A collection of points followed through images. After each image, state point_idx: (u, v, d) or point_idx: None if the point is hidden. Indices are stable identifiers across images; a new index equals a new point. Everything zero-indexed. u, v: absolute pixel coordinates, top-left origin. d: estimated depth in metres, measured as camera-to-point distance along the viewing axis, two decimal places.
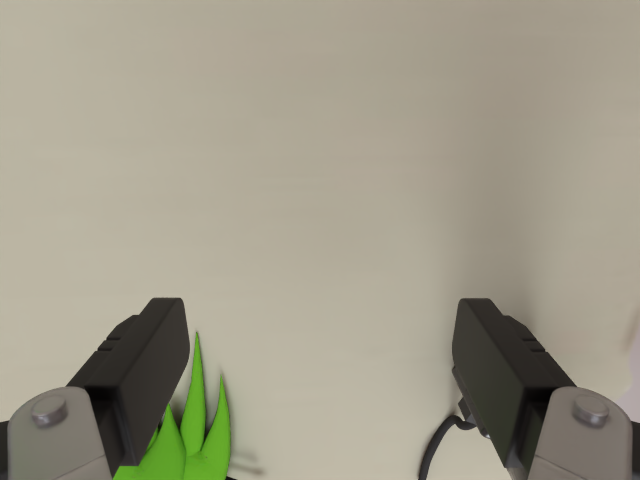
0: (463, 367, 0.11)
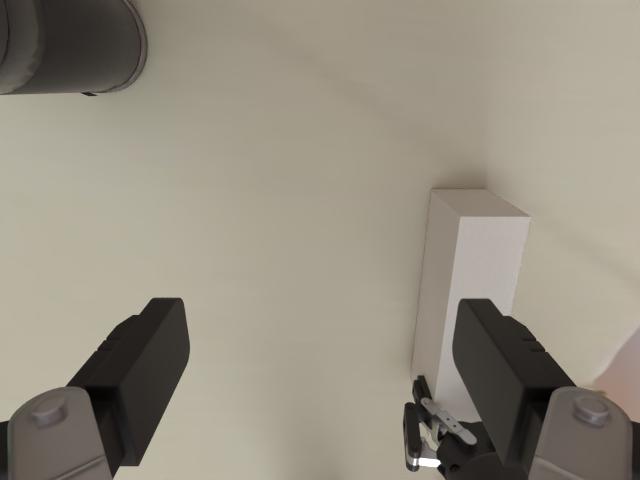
0: (463, 367, 0.11)
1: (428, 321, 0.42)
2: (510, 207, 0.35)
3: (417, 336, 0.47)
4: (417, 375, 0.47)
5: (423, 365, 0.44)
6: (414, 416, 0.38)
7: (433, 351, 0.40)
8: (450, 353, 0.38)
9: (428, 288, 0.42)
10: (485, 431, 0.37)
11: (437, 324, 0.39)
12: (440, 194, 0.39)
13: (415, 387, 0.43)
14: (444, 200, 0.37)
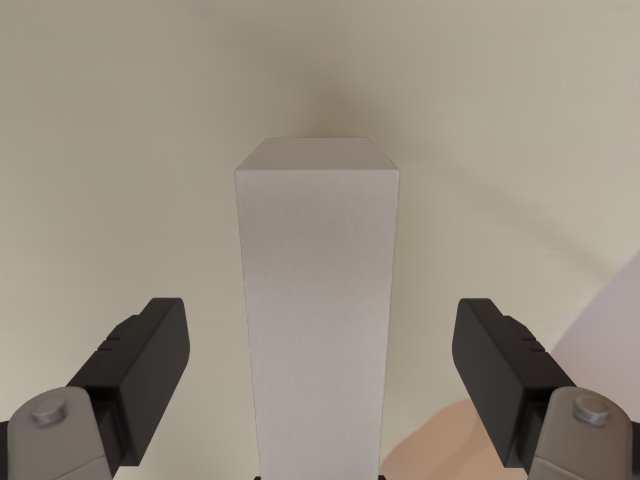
0: (463, 367, 0.11)
1: None
2: (374, 157, 0.16)
3: None
4: None
5: None
6: None
7: None
8: (277, 453, 0.19)
9: None
10: None
11: None
12: (269, 142, 0.21)
13: None
14: (257, 149, 0.19)
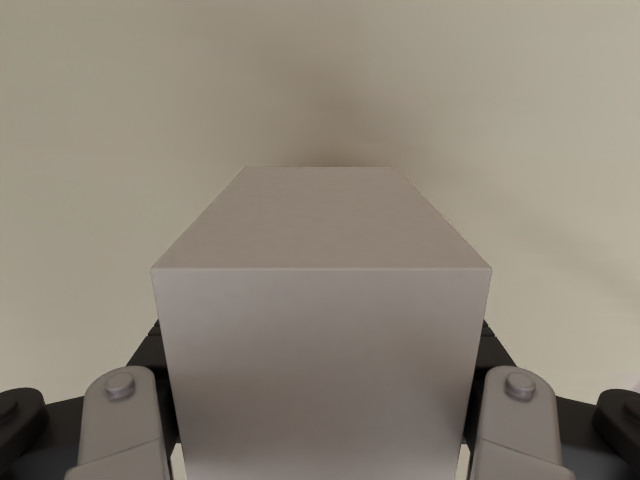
0: None
1: None
2: (423, 220, 0.09)
3: None
4: None
5: None
6: None
7: None
8: None
9: None
10: None
11: None
12: (246, 177, 0.13)
13: None
14: (222, 195, 0.11)
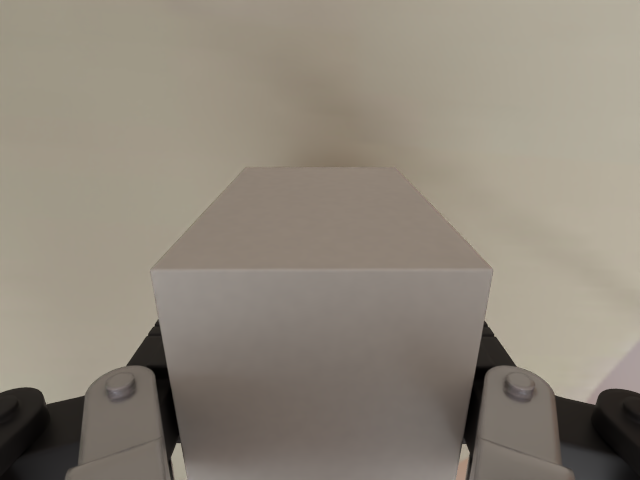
0: None
1: None
2: (423, 220, 0.09)
3: None
4: None
5: None
6: None
7: None
8: None
9: None
10: None
11: None
12: (246, 178, 0.13)
13: None
14: (222, 196, 0.11)
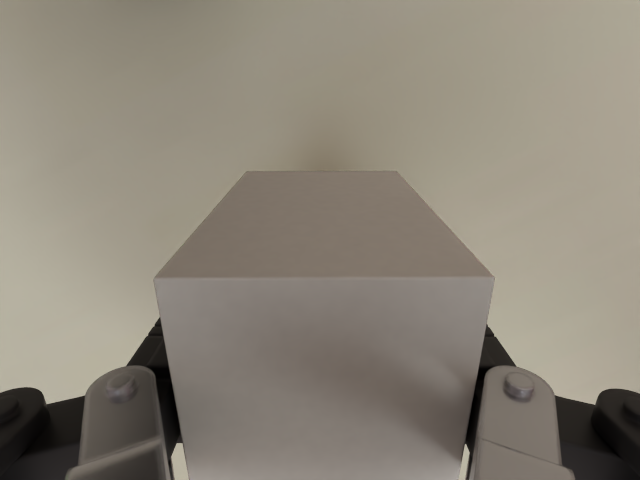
0: None
1: None
2: (424, 227, 0.09)
3: None
4: None
5: None
6: None
7: None
8: None
9: None
10: None
11: None
12: (247, 182, 0.14)
13: None
14: (224, 201, 0.11)
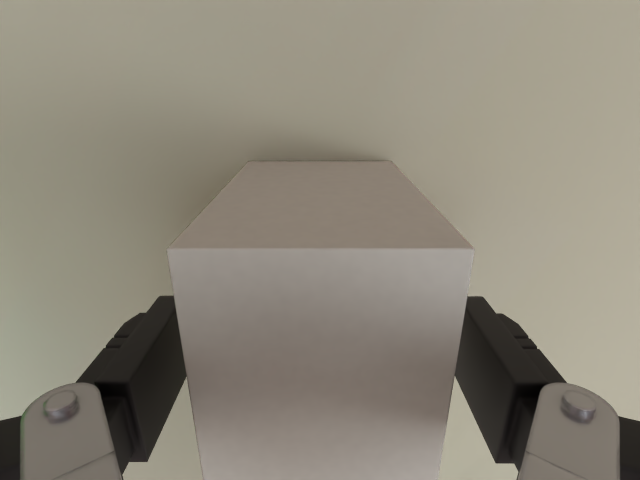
0: (457, 364, 0.11)
1: None
2: (414, 208, 0.10)
3: None
4: None
5: None
6: None
7: None
8: None
9: None
10: None
11: None
12: (249, 171, 0.14)
13: None
14: (228, 186, 0.12)
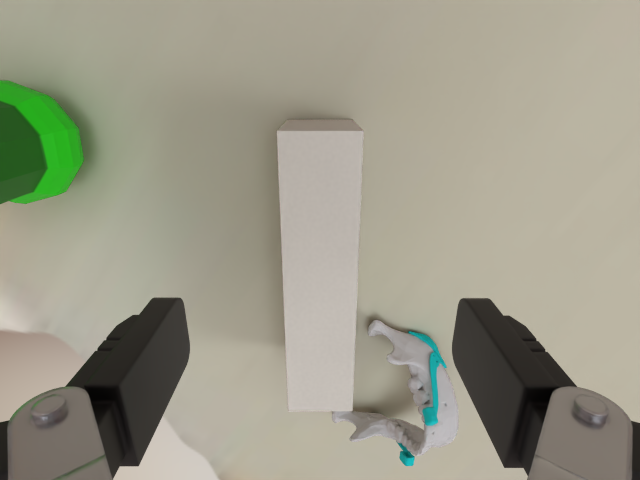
0: (463, 367, 0.11)
1: None
2: (352, 126, 0.29)
3: None
4: None
5: None
6: None
7: None
8: (295, 307, 0.32)
9: None
10: None
11: None
12: (290, 121, 0.33)
13: None
14: (284, 124, 0.31)
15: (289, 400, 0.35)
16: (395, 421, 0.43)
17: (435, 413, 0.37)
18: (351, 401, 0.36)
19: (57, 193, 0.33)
